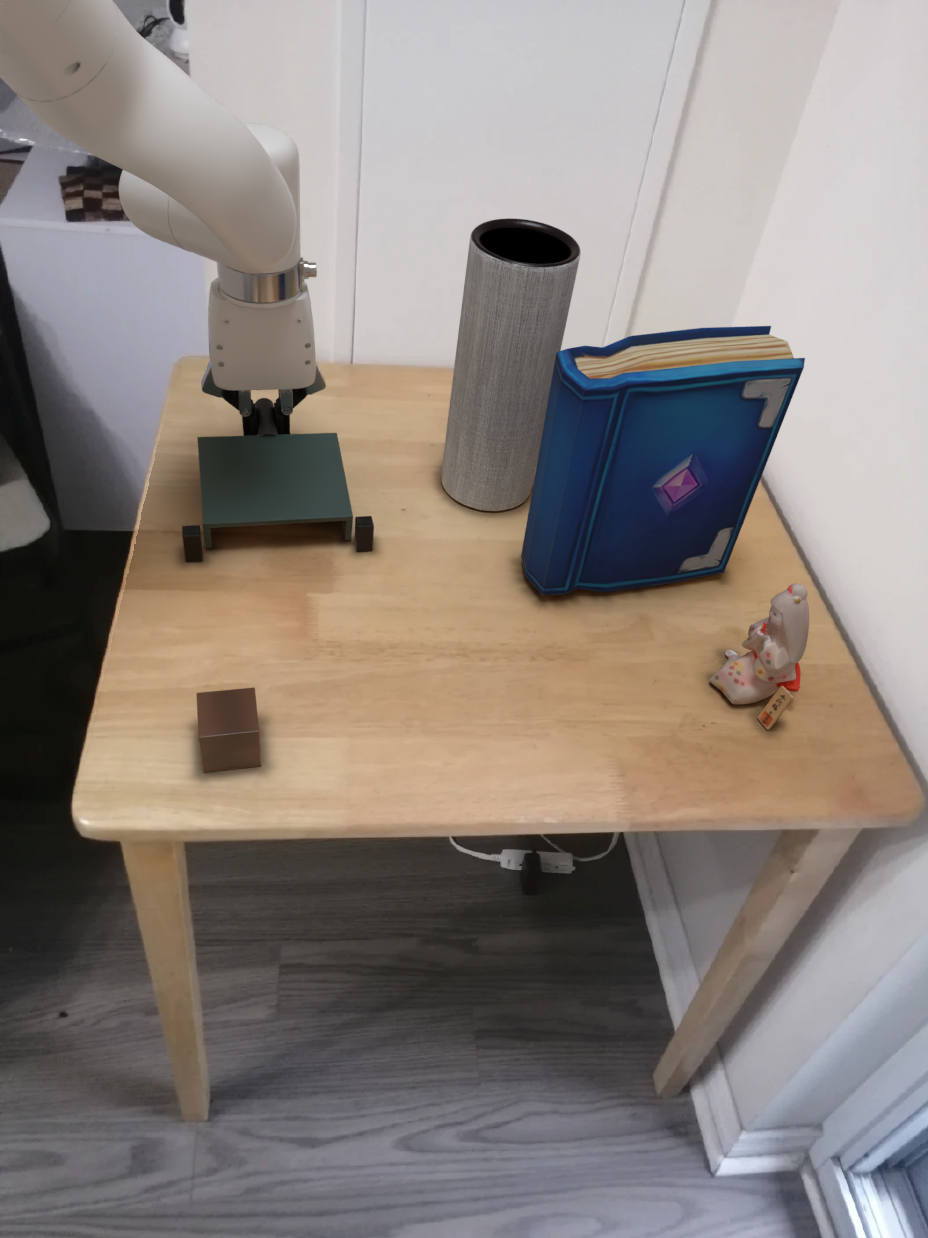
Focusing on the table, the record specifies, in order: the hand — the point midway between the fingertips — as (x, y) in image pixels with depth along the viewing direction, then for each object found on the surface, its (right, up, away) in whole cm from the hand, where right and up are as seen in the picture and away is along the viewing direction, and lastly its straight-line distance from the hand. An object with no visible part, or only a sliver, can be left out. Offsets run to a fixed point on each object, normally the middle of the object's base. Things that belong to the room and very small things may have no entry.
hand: (266, 439), depth 99 cm
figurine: (+47, -26, -14) cm, 55 cm away
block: (+3, -29, -25) cm, 39 cm away
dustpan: (+1, -5, -3) cm, 6 cm away
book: (+36, -14, -4) cm, 39 cm away
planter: (+23, -4, +3) cm, 24 cm away
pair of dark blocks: (+3, -12, -8) cm, 15 cm away
